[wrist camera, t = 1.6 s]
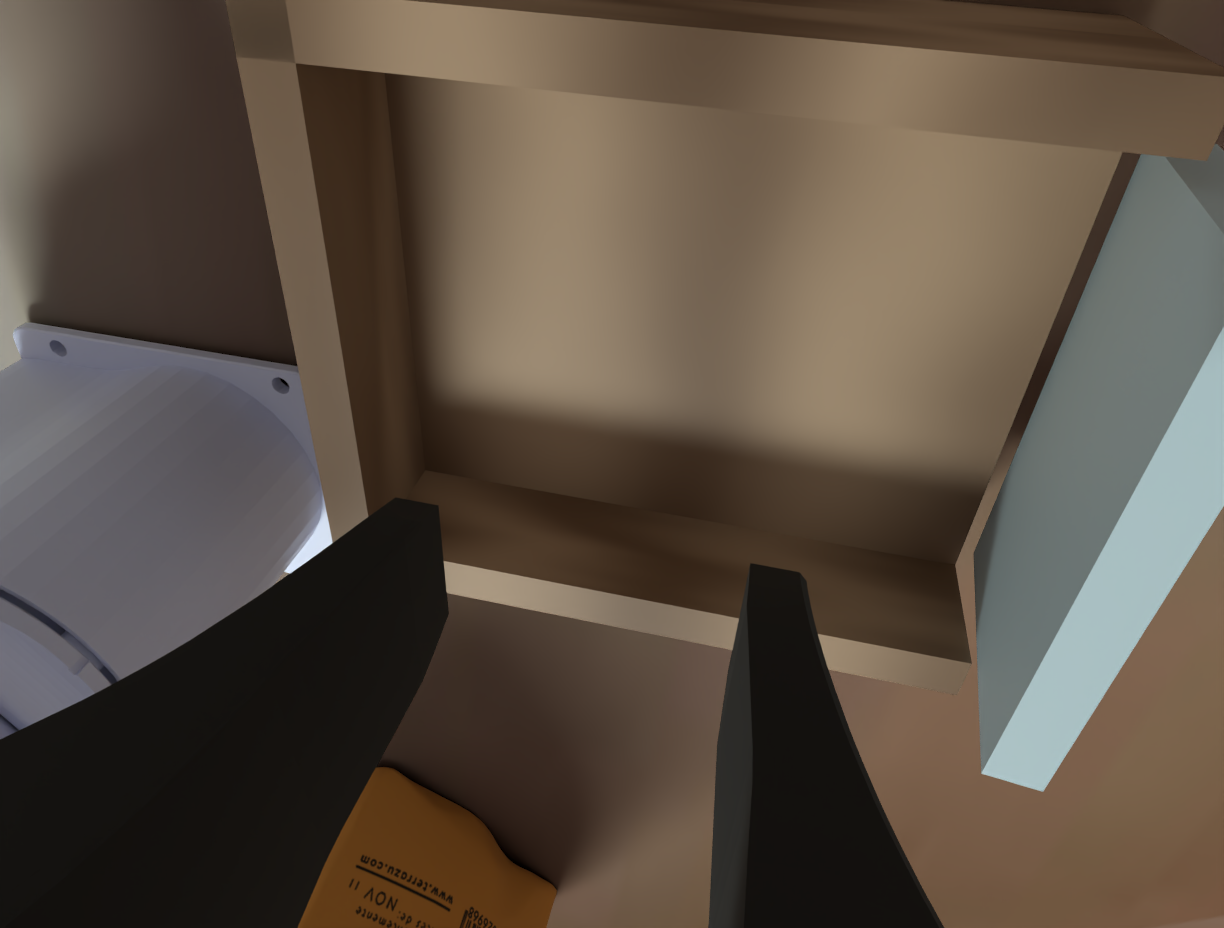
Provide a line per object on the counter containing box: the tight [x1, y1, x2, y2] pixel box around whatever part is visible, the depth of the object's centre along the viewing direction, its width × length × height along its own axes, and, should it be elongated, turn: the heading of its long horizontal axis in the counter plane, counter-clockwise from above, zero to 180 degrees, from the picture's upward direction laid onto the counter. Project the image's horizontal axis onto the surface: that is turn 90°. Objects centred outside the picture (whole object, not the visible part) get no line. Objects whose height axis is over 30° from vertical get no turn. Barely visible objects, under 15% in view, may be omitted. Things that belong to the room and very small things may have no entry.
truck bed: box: [225, 0, 1224, 695], centre depth 17 cm, size 14×12×6 cm
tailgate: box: [974, 144, 1224, 791], centre depth 14 cm, size 1×9×6 cm, turn 177°
